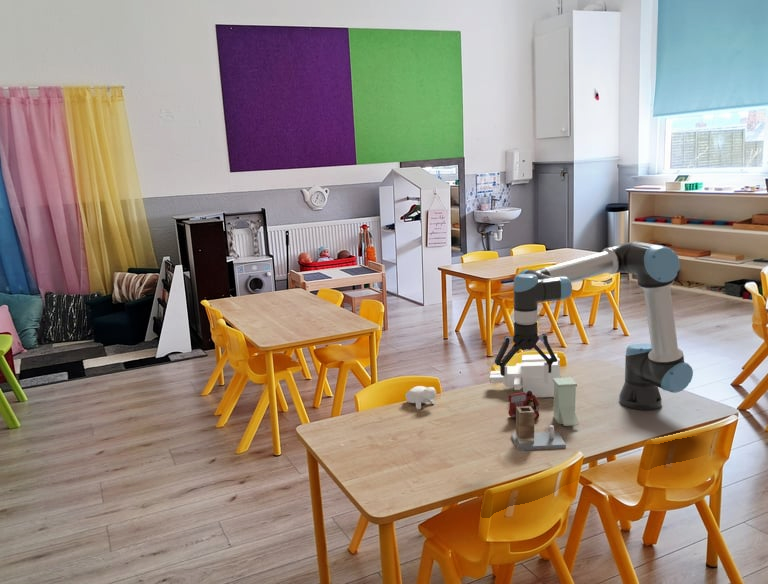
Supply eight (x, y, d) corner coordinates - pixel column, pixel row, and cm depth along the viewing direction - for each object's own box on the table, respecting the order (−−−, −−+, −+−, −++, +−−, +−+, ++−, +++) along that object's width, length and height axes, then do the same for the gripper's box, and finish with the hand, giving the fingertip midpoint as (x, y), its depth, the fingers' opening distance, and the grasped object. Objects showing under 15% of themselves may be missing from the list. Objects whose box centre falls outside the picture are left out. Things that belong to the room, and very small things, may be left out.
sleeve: (530, 436, 222) (530, 406, 220) (534, 442, 217) (534, 412, 215) (516, 436, 222) (516, 406, 220) (519, 443, 217) (519, 412, 215)
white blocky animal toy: (406, 411, 258) (428, 408, 246) (400, 390, 259) (422, 386, 247) (422, 405, 263) (445, 402, 251) (417, 385, 264) (439, 381, 252)
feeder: (570, 415, 240) (571, 377, 237) (580, 429, 229) (581, 389, 225) (552, 416, 240) (552, 378, 237) (561, 430, 228) (562, 390, 225)
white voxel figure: (494, 383, 281) (560, 381, 274) (489, 405, 258) (562, 403, 251) (491, 350, 278) (558, 347, 271) (486, 370, 255) (560, 367, 248)
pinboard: (557, 434, 225) (557, 419, 224) (565, 447, 215) (566, 432, 214) (511, 437, 225) (511, 422, 223) (518, 450, 215) (518, 434, 214)
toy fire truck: (543, 419, 238) (544, 392, 236) (514, 425, 234) (514, 398, 232) (533, 412, 245) (533, 386, 242) (504, 417, 241) (504, 391, 239)
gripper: (560, 316, 214) (559, 377, 219) (485, 320, 214) (486, 381, 219) (567, 322, 207) (566, 385, 212) (489, 327, 207) (490, 389, 211)
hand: (525, 383), depth 215 cm, fingers open, 13 cm apart
